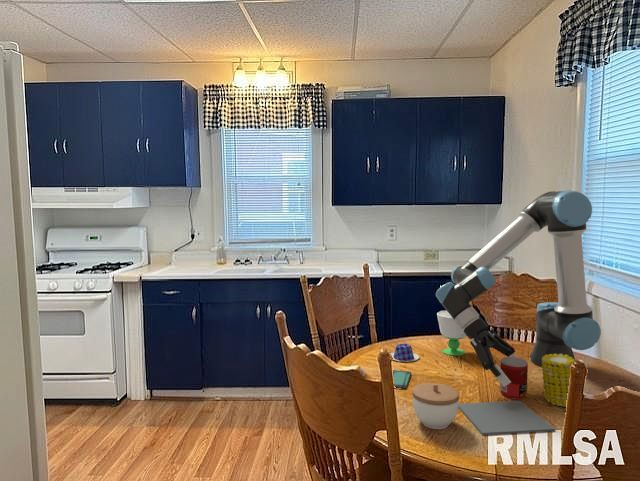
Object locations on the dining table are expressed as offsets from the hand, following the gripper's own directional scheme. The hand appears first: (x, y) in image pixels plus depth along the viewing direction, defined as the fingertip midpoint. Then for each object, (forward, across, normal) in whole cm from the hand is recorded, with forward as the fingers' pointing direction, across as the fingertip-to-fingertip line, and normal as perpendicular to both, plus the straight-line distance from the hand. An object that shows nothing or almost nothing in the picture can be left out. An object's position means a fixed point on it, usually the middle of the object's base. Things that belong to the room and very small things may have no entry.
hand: (516, 378), depth 147 cm
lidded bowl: (-3, +34, -11) cm, 35 cm away
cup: (-21, -27, -29) cm, 44 cm away
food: (+12, -4, +4) cm, 14 cm away
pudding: (-29, -8, -37) cm, 48 cm away
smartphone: (-20, +14, -29) cm, 38 cm away
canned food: (+3, 0, -5) cm, 6 cm away
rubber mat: (+6, +18, -2) cm, 19 cm away
